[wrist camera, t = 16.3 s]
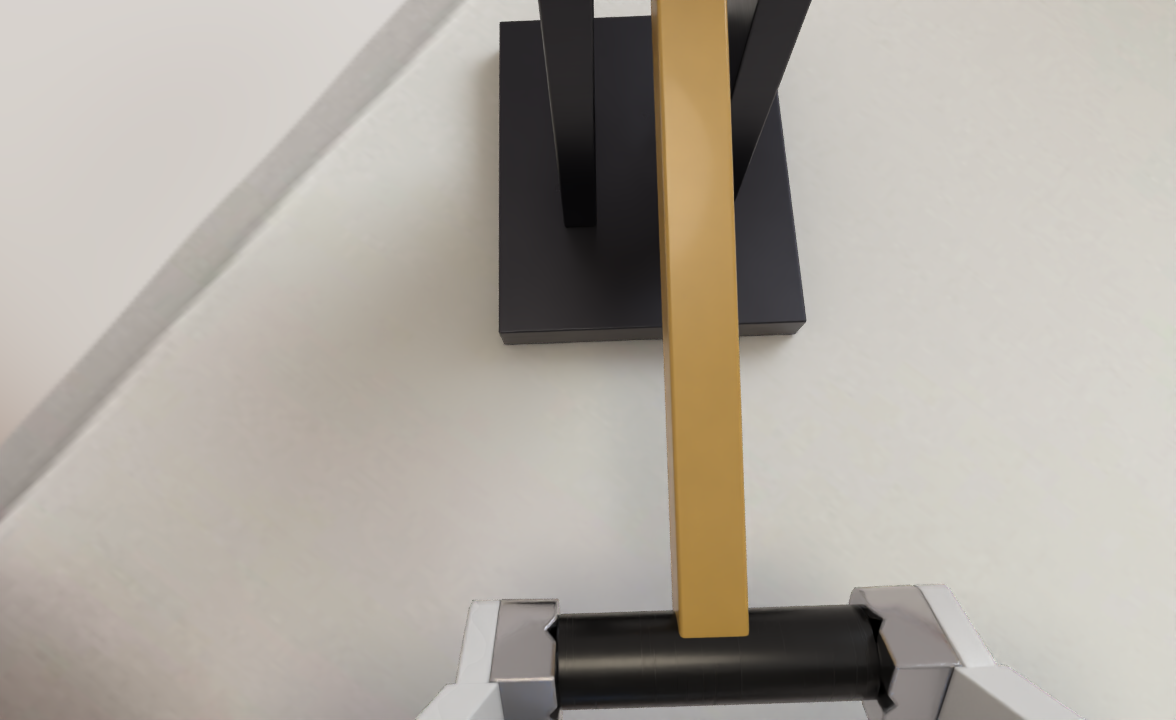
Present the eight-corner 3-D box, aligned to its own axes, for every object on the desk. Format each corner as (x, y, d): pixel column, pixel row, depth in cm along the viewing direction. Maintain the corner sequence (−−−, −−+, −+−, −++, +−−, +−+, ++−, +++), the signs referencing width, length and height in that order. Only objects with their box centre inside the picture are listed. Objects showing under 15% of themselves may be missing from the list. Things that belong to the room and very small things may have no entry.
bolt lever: (839, 662, 12) (898, 735, 10) (563, 670, 12) (555, 746, 10) (808, -236, 12) (860, -379, 10) (529, -224, 12) (513, -363, 10)
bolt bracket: (795, 334, 21) (1125, -34, 8) (504, 345, 21) (340, -1, 8) (760, 35, 24) (954, -598, 11) (504, 46, 24) (385, -570, 11)
